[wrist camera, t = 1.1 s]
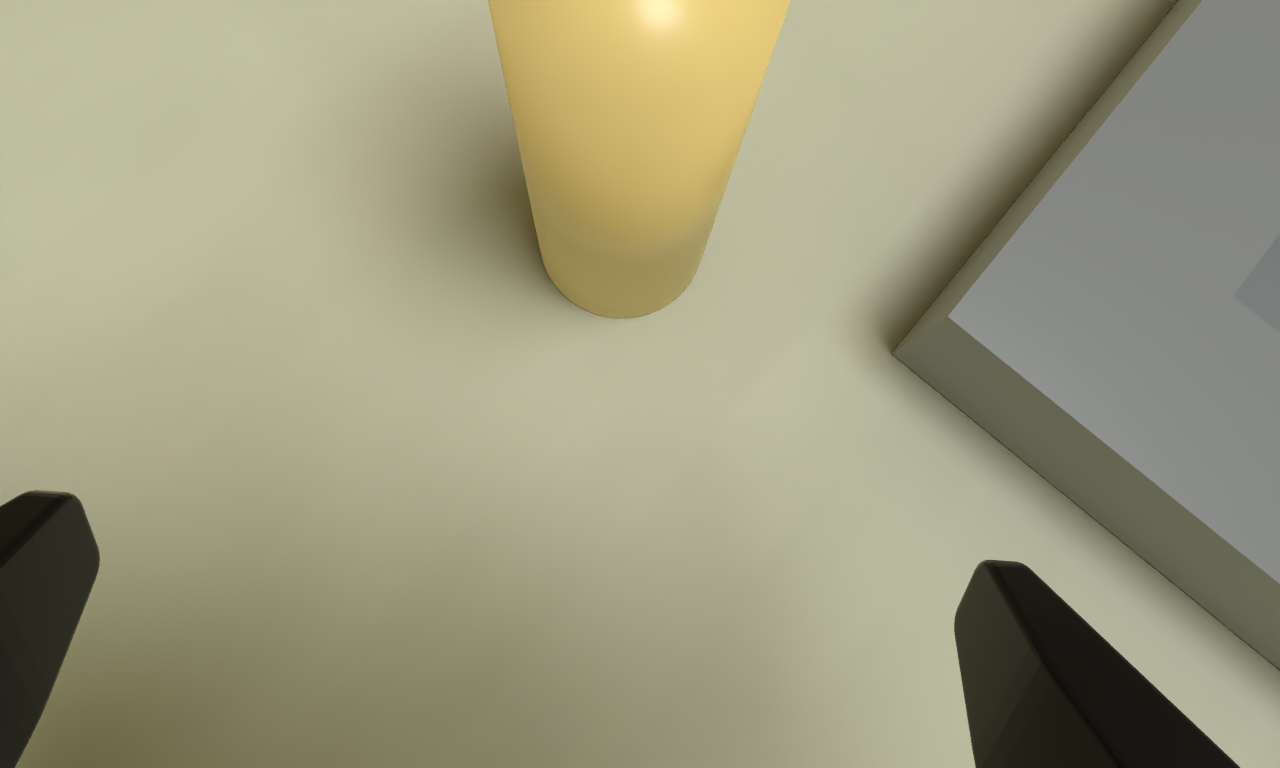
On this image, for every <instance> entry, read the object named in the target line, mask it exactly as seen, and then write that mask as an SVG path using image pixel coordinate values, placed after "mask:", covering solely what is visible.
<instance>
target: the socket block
mask: <svg viewBox="0 0 1280 768" xmlns="http://www.w3.org/2000/svg"><path fill="white" fill-rule="evenodd" d="M892 354H893V355H894V356H895V357H896V358H898V359H899V360H900V361H901V362H902V363H904V364H905V365H906V366H907V367H909V368H910V369H911V370H912V371H914V372H915V373H916V374H917V375H918V376H920V377H921V378H922V379H923V380H925V381H926V382H927V383H928V384H929V385H931V386H932V387H933V388H934V389H936V390H937V391H938V392H939V393H941V394H942V395H943V396H944V397H945V398H947V399H948V400H949V401H950V402H952V403H953V404H954V405H955V406H956V407H958V408H959V409H960V410H961V411H963V412H964V413H965V414H966V415H968V416H969V417H970V418H971V419H972V420H974V421H975V422H976V423H977V424H979V425H980V426H981V427H982V428H983V429H985V430H986V431H987V432H988V433H990V434H991V435H992V436H993V437H995V438H996V439H997V440H998V441H999V442H1001V443H1002V444H1003V445H1004V446H1006V447H1007V448H1008V449H1009V450H1010V451H1012V452H1013V453H1014V454H1015V455H1017V456H1018V457H1019V458H1020V459H1022V460H1023V461H1024V462H1025V463H1026V464H1028V465H1029V466H1030V467H1031V468H1033V469H1034V470H1035V471H1036V472H1037V473H1039V474H1040V475H1041V476H1042V477H1044V478H1045V479H1046V480H1047V481H1049V482H1050V483H1051V484H1052V485H1053V486H1055V487H1056V488H1057V489H1058V490H1060V491H1061V492H1062V493H1063V494H1064V495H1066V496H1067V497H1068V498H1069V499H1071V500H1072V501H1073V502H1074V503H1076V504H1077V505H1078V506H1079V507H1080V508H1082V509H1083V510H1084V511H1085V512H1087V513H1088V514H1089V515H1090V516H1091V517H1093V518H1094V519H1095V520H1096V521H1098V522H1099V523H1100V524H1101V525H1103V526H1104V527H1105V528H1106V529H1107V530H1109V531H1110V532H1111V533H1112V534H1114V535H1115V536H1116V537H1117V538H1118V539H1120V540H1121V541H1122V542H1123V543H1125V544H1126V545H1127V546H1128V547H1130V548H1131V549H1132V550H1133V551H1134V552H1136V553H1137V554H1138V555H1139V556H1141V557H1142V558H1143V559H1144V560H1145V561H1147V562H1148V563H1149V564H1150V565H1152V566H1153V567H1154V568H1155V569H1157V570H1158V571H1159V572H1160V573H1161V574H1163V575H1164V576H1165V577H1166V578H1168V579H1169V580H1170V581H1171V582H1172V583H1174V584H1175V585H1176V586H1177V587H1179V588H1180V589H1181V590H1182V591H1183V592H1185V593H1186V594H1187V595H1188V596H1190V597H1191V598H1192V599H1193V600H1195V601H1196V602H1197V603H1198V604H1199V605H1201V606H1202V607H1203V608H1204V609H1206V610H1207V611H1208V612H1209V613H1210V614H1212V615H1213V616H1214V617H1215V618H1217V619H1218V620H1219V621H1220V622H1222V623H1223V624H1224V625H1225V626H1226V627H1228V628H1229V629H1230V630H1231V631H1233V632H1234V633H1235V634H1236V635H1237V636H1239V637H1240V638H1241V639H1242V640H1244V641H1245V642H1246V643H1247V644H1249V645H1250V646H1251V647H1252V648H1253V649H1255V650H1256V651H1257V652H1258V653H1260V654H1261V655H1262V656H1263V657H1264V658H1266V659H1267V660H1268V661H1269V662H1271V663H1272V664H1273V665H1274V666H1276V667H1277V668H1278V669H1279V670H1280V0H1178V2H1177V3H1176V4H1175V5H1174V6H1173V8H1172V9H1171V10H1170V11H1169V13H1168V14H1167V15H1166V16H1165V18H1164V19H1163V20H1162V21H1161V22H1160V24H1159V25H1158V26H1157V27H1156V29H1155V30H1154V31H1153V32H1152V34H1151V35H1150V36H1149V37H1148V38H1147V40H1146V41H1145V42H1144V43H1143V45H1142V46H1141V47H1140V48H1139V50H1138V51H1137V52H1136V53H1135V54H1134V56H1133V57H1132V58H1131V59H1130V61H1129V62H1128V63H1127V64H1126V66H1125V67H1124V68H1123V69H1122V70H1121V72H1120V73H1119V74H1118V75H1117V77H1116V78H1115V79H1114V80H1113V82H1112V83H1111V84H1110V85H1109V86H1108V88H1107V89H1106V90H1105V91H1104V93H1103V94H1102V95H1101V96H1100V98H1099V99H1098V100H1097V101H1096V102H1095V104H1094V105H1093V106H1092V107H1091V109H1090V110H1089V111H1088V112H1087V114H1086V115H1085V116H1084V117H1083V118H1082V120H1081V121H1080V122H1079V123H1078V125H1077V126H1076V127H1075V128H1074V130H1073V131H1072V132H1071V133H1070V134H1069V136H1068V137H1067V138H1066V139H1065V141H1064V142H1063V143H1062V144H1061V146H1060V147H1059V148H1058V149H1057V150H1056V152H1055V153H1054V154H1053V155H1052V157H1051V158H1050V159H1049V160H1048V162H1047V163H1046V164H1045V165H1044V166H1043V168H1042V169H1041V170H1040V171H1039V173H1038V174H1037V175H1036V176H1035V178H1034V179H1033V180H1032V181H1031V183H1030V184H1029V185H1028V186H1027V187H1026V189H1025V190H1024V191H1023V192H1022V194H1021V195H1020V196H1019V197H1018V199H1017V200H1016V201H1015V202H1014V203H1013V205H1012V206H1011V207H1010V208H1009V210H1008V211H1007V212H1006V213H1005V215H1004V216H1003V217H1002V218H1001V219H1000V221H999V222H998V223H997V224H996V226H995V227H994V228H993V229H992V231H991V232H990V233H989V234H988V235H987V237H986V238H985V239H984V240H983V242H982V243H981V244H980V245H979V247H978V248H977V249H976V250H975V251H974V253H973V254H972V255H971V256H970V258H969V259H968V260H967V261H966V263H965V264H964V265H963V266H962V267H961V269H960V270H959V271H958V272H957V274H956V275H955V276H954V277H953V279H952V280H951V281H950V282H949V283H948V285H947V286H946V287H945V288H944V290H943V291H942V292H941V293H940V295H939V296H938V297H937V298H936V299H935V301H934V302H933V303H932V304H931V306H930V307H929V308H928V309H927V311H926V312H925V313H924V314H923V315H922V317H921V318H920V319H919V320H918V322H917V323H916V324H915V325H914V327H913V328H912V329H911V330H910V331H909V333H908V334H907V335H906V336H905V338H904V339H903V340H902V341H901V343H900V344H899V345H898V346H897V347H896V349H895V350H894V351H893V352H892Z"/></svg>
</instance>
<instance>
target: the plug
mask: <svg viewBox="0 0 1280 768" xmlns="http://www.w3.org/2000/svg"><path fill="white" fill-rule="evenodd" d="M488 3H489V7H490V12H491V17H492V22H493V27H494V31H495V36H496V41H497V46H498V51H499V55H500V60H501V65H502V70H503V75H504V79H505V84H506V89H507V94H508V98H509V103H510V108H511V113H512V118H513V122H514V127H515V132H516V137H517V142H518V146H519V151H520V156H521V161H522V166H523V170H524V175H525V180H526V185H527V189H528V194H529V199H530V204H531V209H532V213H533V218H534V223H535V228H536V233H537V237H538V242H539V247H540V252H541V256H542V260H543V263H544V266H545V268H546V271H547V273H548V275H549V277H550V278H551V280H552V282H553V283H554V284H555V286H556V287H557V288H558V289H559V291H560V292H561V293H562V294H563V295H564V296H565V297H566V298H567V299H569V300H570V301H571V302H573V303H574V304H576V305H577V306H579V307H581V308H582V309H584V310H586V311H589V312H591V313H594V314H597V315H601V316H605V317H611V318H633V317H640V316H643V315H647V314H650V313H653V312H655V311H658V310H660V309H661V308H663V307H665V306H667V305H668V304H670V303H671V302H672V301H674V300H675V299H676V298H677V297H678V296H679V295H680V294H681V293H682V292H683V291H684V290H685V289H686V288H687V286H688V285H689V284H690V282H691V280H692V279H693V277H694V275H695V273H696V271H697V268H698V266H699V263H700V260H701V258H702V255H703V252H704V249H705V246H706V243H707V240H708V237H709V234H710V232H711V229H712V226H713V223H714V220H715V217H716V214H717V211H718V209H719V206H720V203H721V200H722V197H723V194H724V191H725V188H726V186H727V183H728V180H729V177H730V174H731V171H732V168H733V165H734V163H735V160H736V157H737V154H738V151H739V148H740V145H741V142H742V139H743V137H744V134H745V131H746V128H747V125H748V122H749V119H750V116H751V114H752V111H753V108H754V105H755V102H756V99H757V96H758V93H759V91H760V88H761V85H762V82H763V79H764V76H765V73H766V70H767V68H768V65H769V62H770V59H771V56H772V53H773V50H774V47H775V44H776V42H777V39H778V36H779V33H780V30H781V27H782V24H783V21H784V19H785V16H786V13H787V10H788V7H789V4H790V0H488Z"/></svg>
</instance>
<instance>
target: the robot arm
mask: <svg viewBox="0 0 1280 768" xmlns="http://www.w3.org/2000/svg"><path fill="white" fill-rule="evenodd" d="M99 562H100V556H99V549H98V546H97V543H96V541H95V538H94V535H93V533H92V530H91V527H90V525H89V522H88V519H87V516H86V514H85V511H84V508H83V506H82V503H81V501H80V500H79V499H78V498H77V497H76V496H75V495H74V494H70V493H66V492H52V491H38V490H35V491H28V492H25V493H23V494H21V495H19V496H17V497H15V498H14V499H12V500H10V501H9V502H7V503H5V504H3V505H2V506H0V768H15V766H16V764H17V762H18V760H19V758H20V757H21V755H22V753H23V751H24V749H25V747H26V745H27V743H28V741H29V739H30V737H31V735H32V733H33V731H34V729H35V727H36V725H37V723H38V721H39V719H40V717H41V715H42V712H43V710H44V708H45V705H46V703H47V701H48V698H49V696H50V694H51V691H52V689H53V686H54V684H55V681H56V679H57V676H58V673H59V671H60V668H61V666H62V663H63V661H64V658H65V656H66V653H67V650H68V648H69V645H70V643H71V640H72V638H73V635H74V633H75V630H76V628H77V625H78V622H79V620H80V617H81V615H82V612H83V610H84V607H85V605H86V602H87V599H88V597H89V594H90V592H91V589H92V587H93V584H94V582H95V579H96V576H97V573H98V569H99ZM954 632H955V639H956V646H957V652H958V659H959V665H960V672H961V678H962V685H963V691H964V698H965V704H966V711H967V717H968V724H969V730H970V737H971V743H972V750H973V755H974V761H975V766H976V768H1240V767H1239V766H1238V765H1237V764H1236V763H1235V762H1234V761H1233V760H1232V759H1231V758H1230V757H1229V756H1228V755H1227V754H1225V753H1224V752H1223V751H1222V750H1221V749H1220V748H1219V747H1218V746H1217V745H1216V744H1215V743H1214V742H1213V741H1212V740H1211V739H1210V738H1209V737H1208V736H1206V735H1205V734H1204V733H1203V732H1202V731H1201V730H1200V729H1199V728H1198V727H1197V726H1196V725H1195V724H1194V723H1193V722H1192V721H1191V720H1190V719H1188V718H1187V717H1186V716H1185V715H1184V714H1183V713H1182V712H1181V711H1180V710H1179V709H1178V708H1177V707H1176V706H1175V705H1174V704H1173V703H1172V702H1170V701H1169V700H1168V699H1167V698H1166V697H1165V696H1164V695H1163V694H1162V693H1161V692H1160V691H1159V690H1158V689H1157V688H1156V687H1155V686H1154V685H1153V684H1151V683H1150V682H1149V681H1148V680H1147V679H1146V678H1145V677H1144V676H1143V675H1142V674H1141V673H1140V672H1139V671H1138V670H1137V669H1136V668H1135V667H1133V666H1132V665H1131V664H1130V663H1129V662H1128V661H1127V660H1126V659H1125V658H1124V657H1123V656H1122V655H1121V654H1120V653H1119V652H1118V651H1117V650H1115V649H1114V648H1113V647H1112V646H1111V645H1110V644H1109V643H1108V642H1107V641H1106V640H1105V639H1104V638H1103V637H1102V636H1101V635H1100V634H1099V633H1098V632H1096V631H1095V630H1094V629H1093V628H1092V627H1091V626H1090V625H1089V624H1088V623H1087V622H1086V621H1085V620H1084V619H1083V618H1082V617H1081V616H1080V615H1078V614H1077V613H1076V612H1075V611H1074V610H1073V609H1072V608H1071V607H1070V606H1069V605H1068V604H1067V603H1066V602H1065V601H1064V600H1063V599H1062V598H1061V597H1059V596H1058V595H1057V594H1056V593H1055V592H1054V591H1053V590H1052V589H1051V588H1050V587H1049V586H1048V585H1047V584H1046V583H1045V582H1044V581H1043V580H1041V579H1040V578H1039V577H1038V576H1037V575H1036V574H1035V573H1034V572H1033V571H1032V570H1031V569H1030V568H1028V567H1027V566H1026V565H1024V564H1022V563H1019V562H1012V561H999V560H984V561H982V562H981V563H980V564H979V565H978V566H977V568H976V569H975V571H974V573H973V576H972V578H971V580H970V582H969V584H968V587H967V589H966V591H965V593H964V595H963V598H962V600H961V602H960V604H959V606H958V609H957V612H956V615H955V623H954Z"/></svg>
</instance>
